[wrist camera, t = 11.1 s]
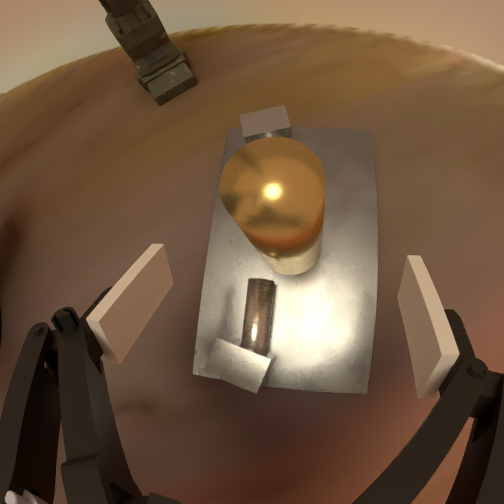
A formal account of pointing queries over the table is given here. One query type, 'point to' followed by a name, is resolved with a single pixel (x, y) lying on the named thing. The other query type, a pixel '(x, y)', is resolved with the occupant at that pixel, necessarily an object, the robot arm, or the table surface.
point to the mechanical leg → (149, 48)
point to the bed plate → (296, 279)
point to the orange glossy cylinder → (277, 201)
